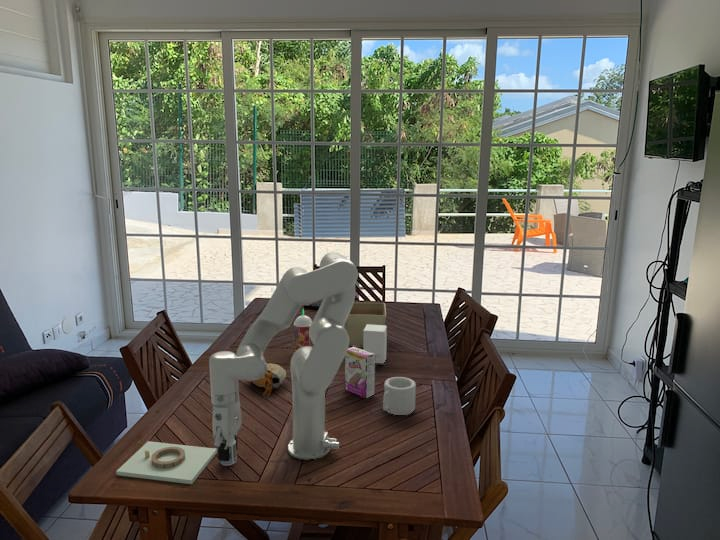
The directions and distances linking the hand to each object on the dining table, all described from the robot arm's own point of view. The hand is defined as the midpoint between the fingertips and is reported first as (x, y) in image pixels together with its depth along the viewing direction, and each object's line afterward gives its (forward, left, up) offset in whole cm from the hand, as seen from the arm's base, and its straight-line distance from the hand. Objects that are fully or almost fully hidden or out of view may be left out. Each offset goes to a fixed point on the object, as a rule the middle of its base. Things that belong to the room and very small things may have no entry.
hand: (228, 454), depth 157 cm
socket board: (+16, +4, -2) cm, 17 cm away
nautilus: (+6, -49, -3) cm, 50 cm away
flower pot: (-22, -105, -2) cm, 107 cm away
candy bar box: (-29, -52, -2) cm, 59 cm away
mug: (-44, -41, -2) cm, 60 cm away
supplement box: (-30, -84, -2) cm, 89 cm away
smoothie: (+2, -87, -2) cm, 87 cm away
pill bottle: (0, 0, -2) cm, 2 cm away
